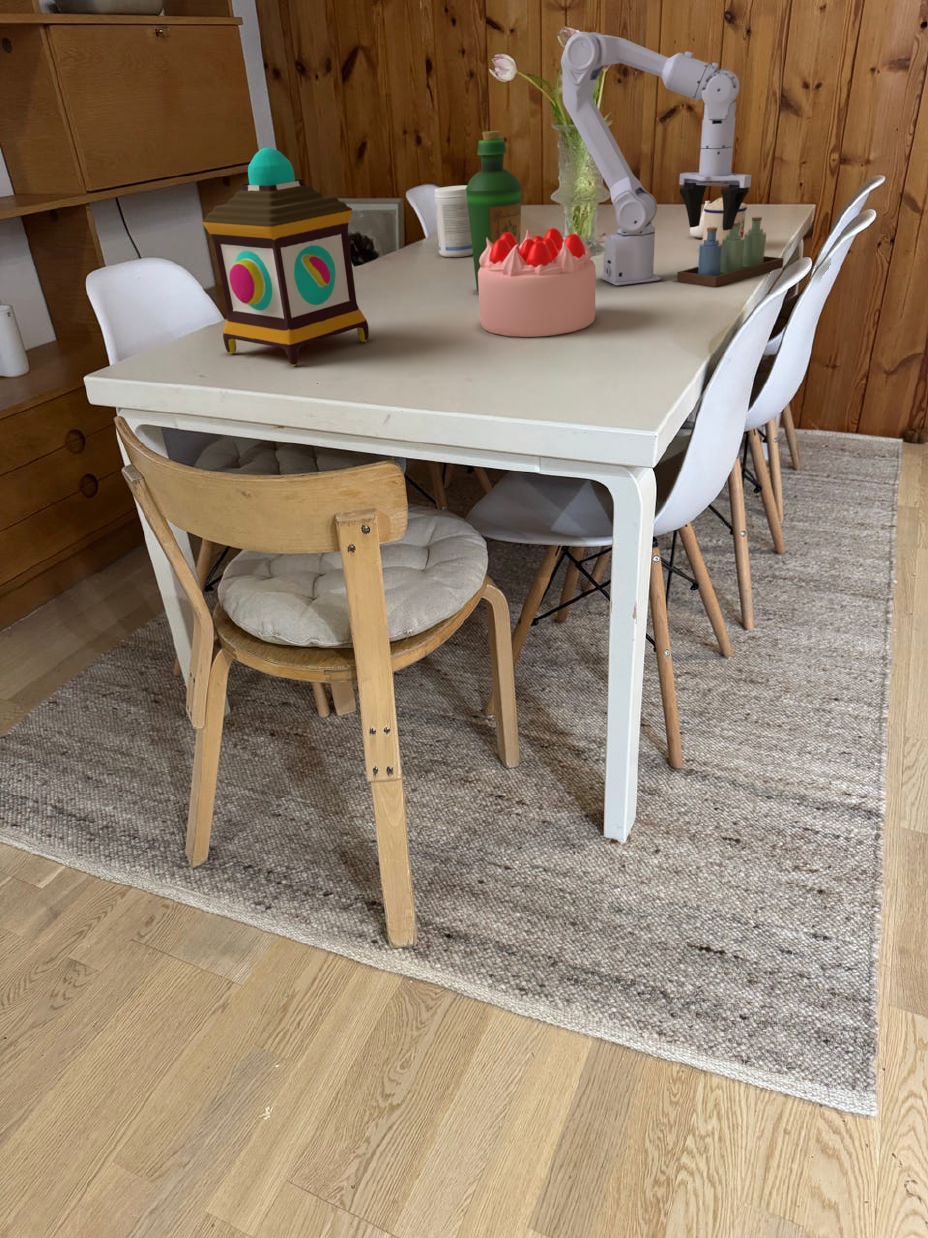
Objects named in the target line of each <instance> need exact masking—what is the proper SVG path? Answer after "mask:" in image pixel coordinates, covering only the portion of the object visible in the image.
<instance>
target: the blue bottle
mask: <svg viewBox="0 0 928 1238" xmlns="http://www.w3.org/2000/svg"><path fill="white" fill-rule="evenodd" d="M707 231H708V233H707V239H706V240H704V243H703V242H702V243H701V244H699V250H698V262H697V263H698V266H697V267H698V274H702V275H710V276H719V275H720V269H721V256H722V244H721V243H719V240H718V239H716V231H717V227H708V228H707Z"/></svg>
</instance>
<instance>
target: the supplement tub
mask: <svg viewBox="0 0 928 1238" xmlns="http://www.w3.org/2000/svg"><path fill="white" fill-rule="evenodd" d="M467 185H468V184H467ZM467 185H451V186H443V187H438V188H435V189H434V208H435V218H436V230H437V231H436V233H437V243H438V252H439V255H440V256H441V257H443V258H465V257H468V256H469V257H470V256H473V250H472V241H471V232H470V223H469V213H468V204H467V195H466V187H467Z"/></svg>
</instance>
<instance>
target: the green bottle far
mask: <svg viewBox="0 0 928 1238" xmlns="http://www.w3.org/2000/svg"><path fill="white" fill-rule="evenodd" d="M762 220H763V216H759V215H755V216H752V217H751V228H748V229H747V232H744V235H743V238H745V241H744V252H743V263H742V266H743V267H751V266H754V265H758V264H761V263H763V262H764V256H765V252H766V242H767V232H765V231H764V228H762V227H761V223H762Z"/></svg>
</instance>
